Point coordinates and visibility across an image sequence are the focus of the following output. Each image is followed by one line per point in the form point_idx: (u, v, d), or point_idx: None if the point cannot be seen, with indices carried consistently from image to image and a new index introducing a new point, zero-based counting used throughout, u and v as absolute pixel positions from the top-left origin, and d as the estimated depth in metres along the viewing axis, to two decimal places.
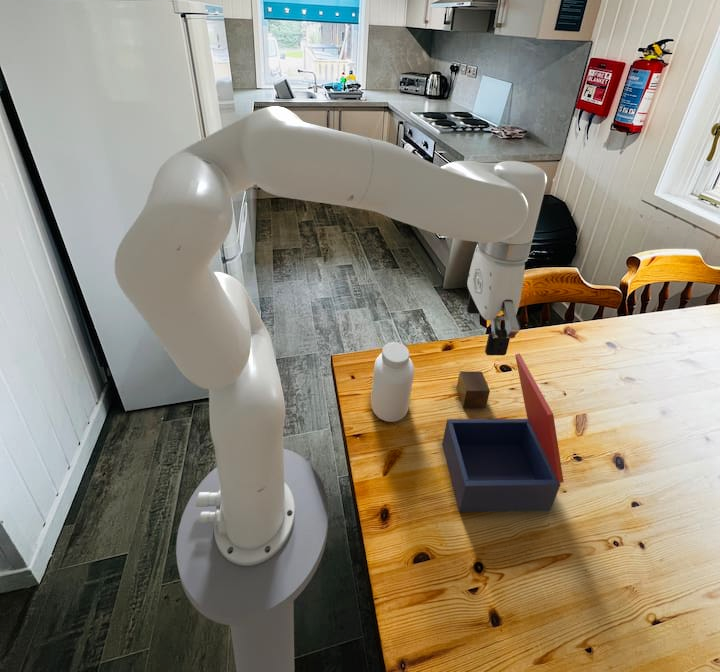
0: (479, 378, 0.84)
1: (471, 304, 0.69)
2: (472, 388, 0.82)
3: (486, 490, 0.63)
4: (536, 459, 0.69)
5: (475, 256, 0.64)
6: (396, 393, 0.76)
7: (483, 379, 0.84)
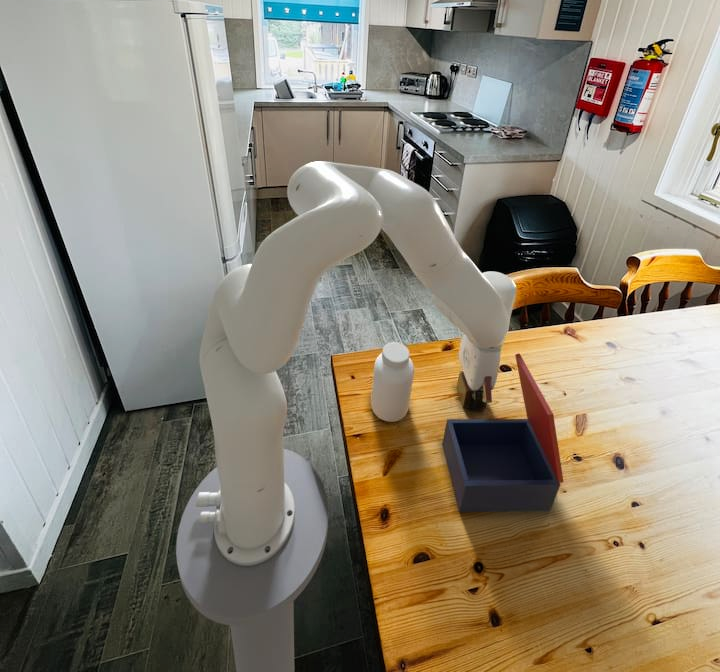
0: None
1: None
2: None
3: (486, 490, 0.63)
4: (536, 459, 0.69)
5: (464, 336, 0.83)
6: (396, 393, 0.76)
7: None
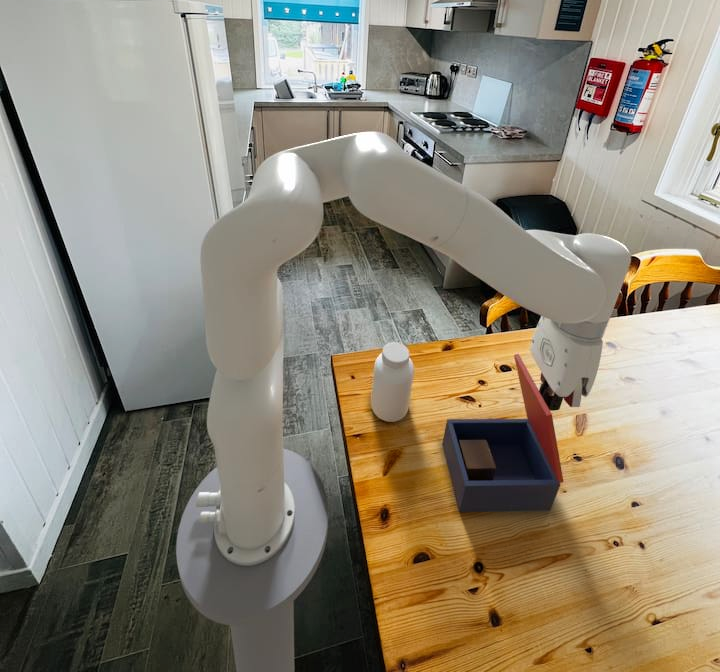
0: (483, 450, 0.69)
1: None
2: (475, 465, 0.66)
3: (486, 490, 0.63)
4: (536, 459, 0.69)
5: (542, 324, 0.62)
6: (396, 393, 0.76)
7: (488, 451, 0.69)
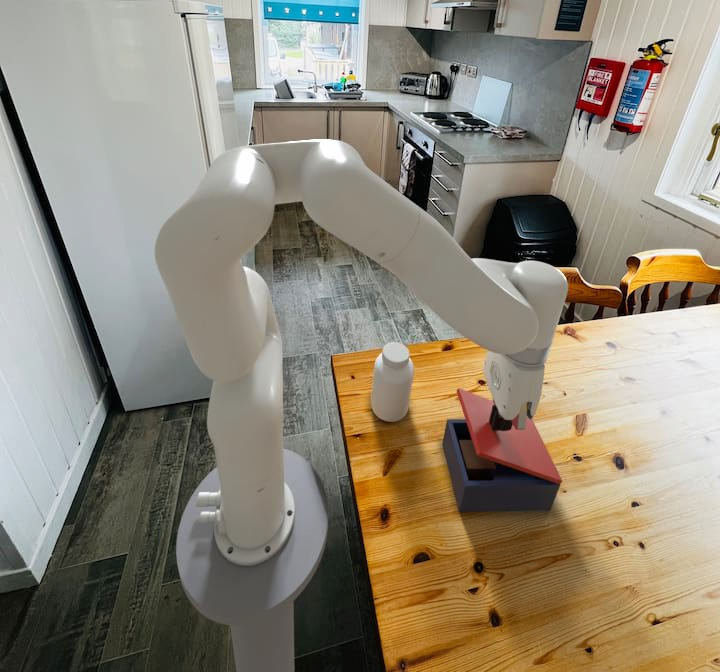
0: None
1: None
2: (475, 465, 0.66)
3: (486, 490, 0.63)
4: None
5: None
6: (396, 393, 0.76)
7: None
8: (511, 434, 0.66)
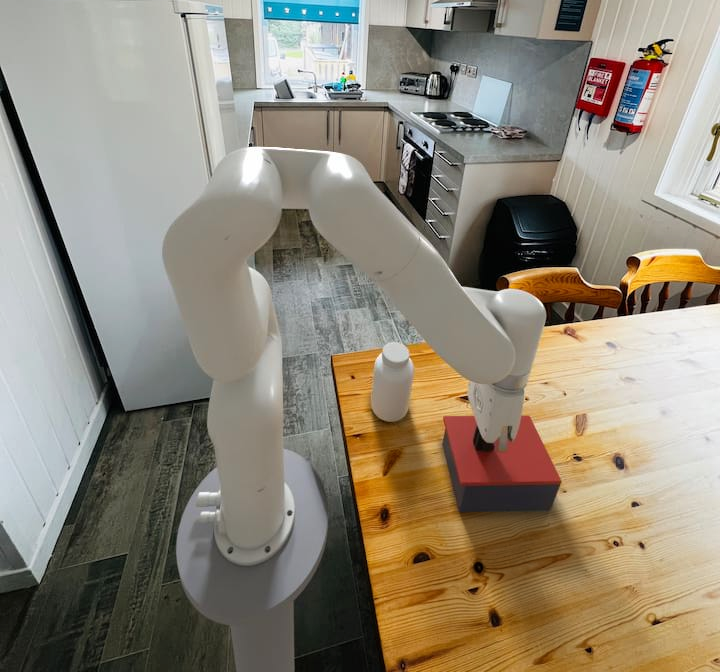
0: None
1: None
2: None
3: (486, 490, 0.63)
4: None
5: None
6: (396, 393, 0.76)
7: None
8: None
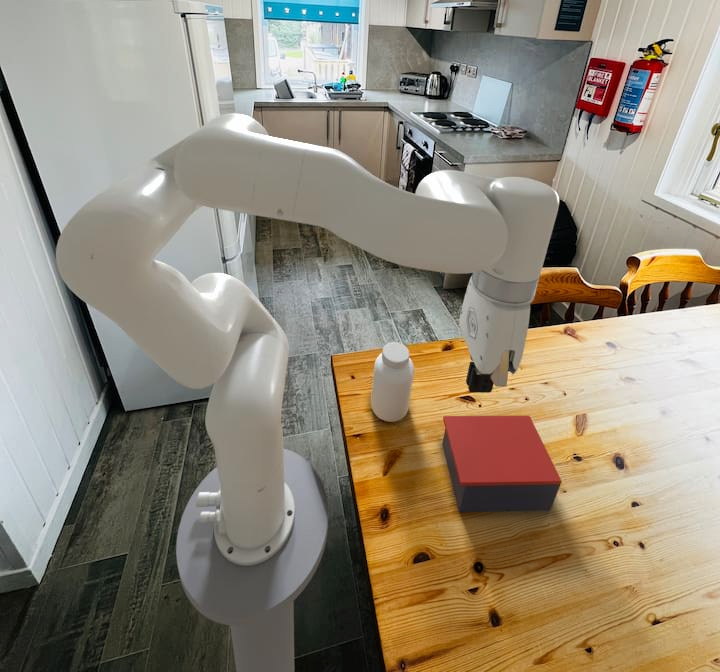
0: None
1: None
2: None
3: (486, 490, 0.63)
4: None
5: (469, 291, 0.52)
6: (396, 393, 0.76)
7: None
8: (502, 447, 0.67)
